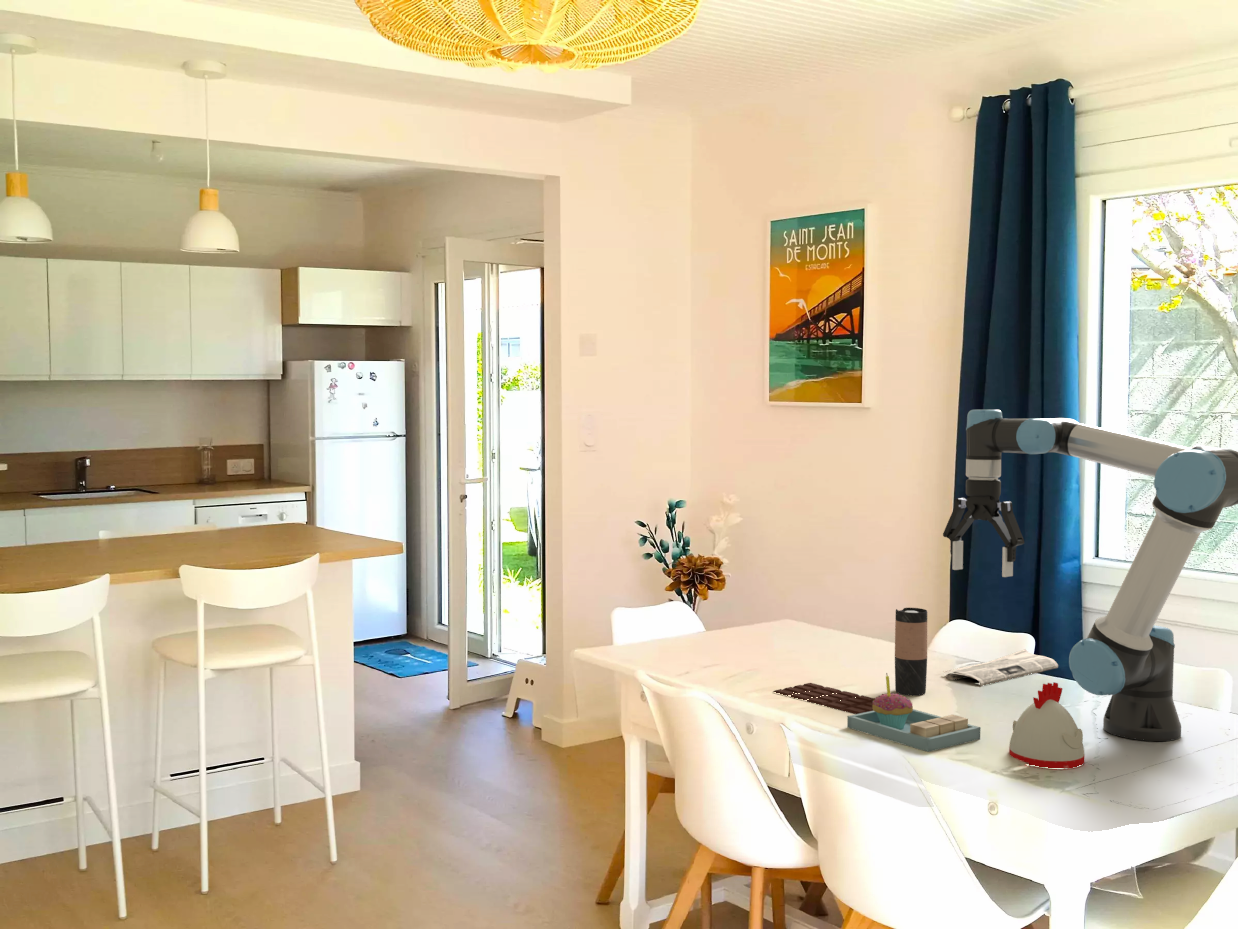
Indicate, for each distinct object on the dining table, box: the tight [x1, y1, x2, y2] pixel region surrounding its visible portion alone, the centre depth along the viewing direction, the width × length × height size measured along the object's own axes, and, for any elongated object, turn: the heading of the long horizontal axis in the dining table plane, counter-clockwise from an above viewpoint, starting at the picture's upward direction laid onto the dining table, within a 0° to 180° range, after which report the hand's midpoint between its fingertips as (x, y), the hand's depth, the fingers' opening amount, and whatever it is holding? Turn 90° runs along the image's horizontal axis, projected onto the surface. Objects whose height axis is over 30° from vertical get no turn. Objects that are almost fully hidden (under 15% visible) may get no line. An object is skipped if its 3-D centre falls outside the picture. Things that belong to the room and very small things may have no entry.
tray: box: [846, 708, 981, 753], centre depth 249 cm, size 22×16×3 cm
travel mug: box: [894, 607, 928, 697], centre depth 287 cm, size 8×8×20 cm
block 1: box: [910, 721, 939, 738], centre depth 241 cm, size 4×4×4 cm
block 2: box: [925, 718, 954, 735], centre depth 243 cm, size 4×4×4 cm
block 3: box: [940, 714, 969, 732], centre depth 246 cm, size 4×4×4 cm
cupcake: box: [872, 672, 914, 730], centre depth 254 cm, size 9×8×12 cm
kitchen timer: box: [1008, 682, 1086, 769], centre depth 233 cm, size 14×14×15 cm
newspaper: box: [942, 648, 1059, 687], centre depth 309 cm, size 35×12×4 cm, turn 128°
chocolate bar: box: [772, 682, 876, 715], centre depth 281 cm, size 27×14×1 cm, turn 39°
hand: (982, 573), depth 266 cm, fingers open, 13 cm apart
